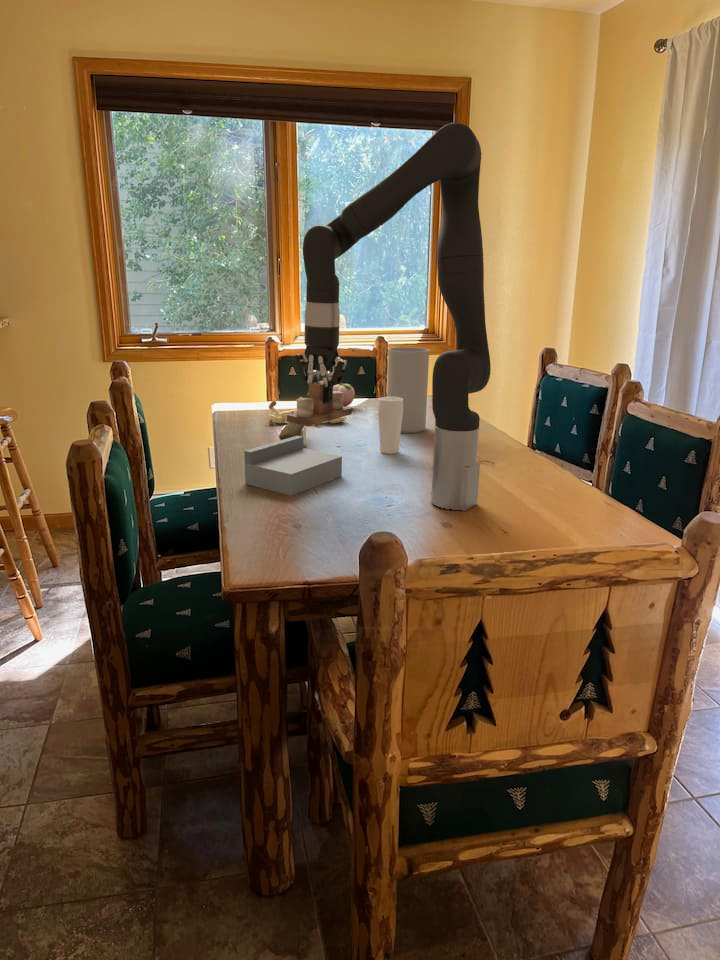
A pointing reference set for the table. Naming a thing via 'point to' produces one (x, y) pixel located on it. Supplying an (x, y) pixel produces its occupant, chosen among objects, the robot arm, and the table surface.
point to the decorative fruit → (345, 393)
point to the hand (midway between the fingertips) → (320, 401)
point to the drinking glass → (390, 423)
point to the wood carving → (293, 431)
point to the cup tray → (318, 407)
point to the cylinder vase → (409, 384)
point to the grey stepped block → (289, 466)
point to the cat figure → (283, 415)
